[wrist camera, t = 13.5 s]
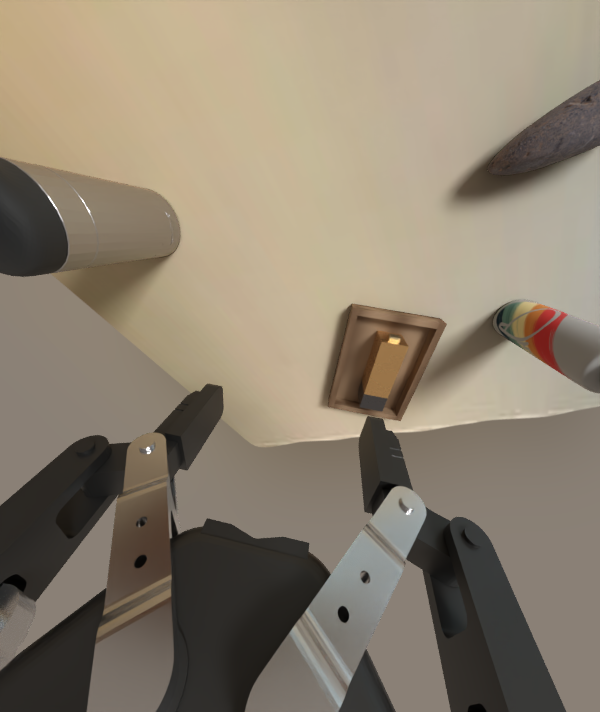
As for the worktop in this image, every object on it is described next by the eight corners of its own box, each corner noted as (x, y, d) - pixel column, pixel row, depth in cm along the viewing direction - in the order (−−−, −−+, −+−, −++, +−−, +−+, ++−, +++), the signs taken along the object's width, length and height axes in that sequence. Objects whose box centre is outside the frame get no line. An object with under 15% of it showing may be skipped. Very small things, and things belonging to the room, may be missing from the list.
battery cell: (357, 391, 44) (359, 407, 40) (378, 326, 38) (383, 337, 34) (378, 395, 44) (382, 411, 40) (403, 330, 37) (410, 342, 33)
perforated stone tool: (478, 196, 29) (515, 187, 22) (473, 146, 26) (512, 121, 20) (643, 121, 24) (747, 84, 18) (652, 53, 22) (773, -15, 16)
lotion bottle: (490, 306, 34) (646, 384, 17) (537, 292, 32) (764, 363, 15) (492, 339, 36) (632, 437, 19) (536, 328, 35) (733, 425, 17)
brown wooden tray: (328, 398, 47) (328, 406, 45) (352, 303, 37) (352, 308, 35) (397, 412, 46) (400, 421, 44) (440, 318, 36) (446, 324, 34)
